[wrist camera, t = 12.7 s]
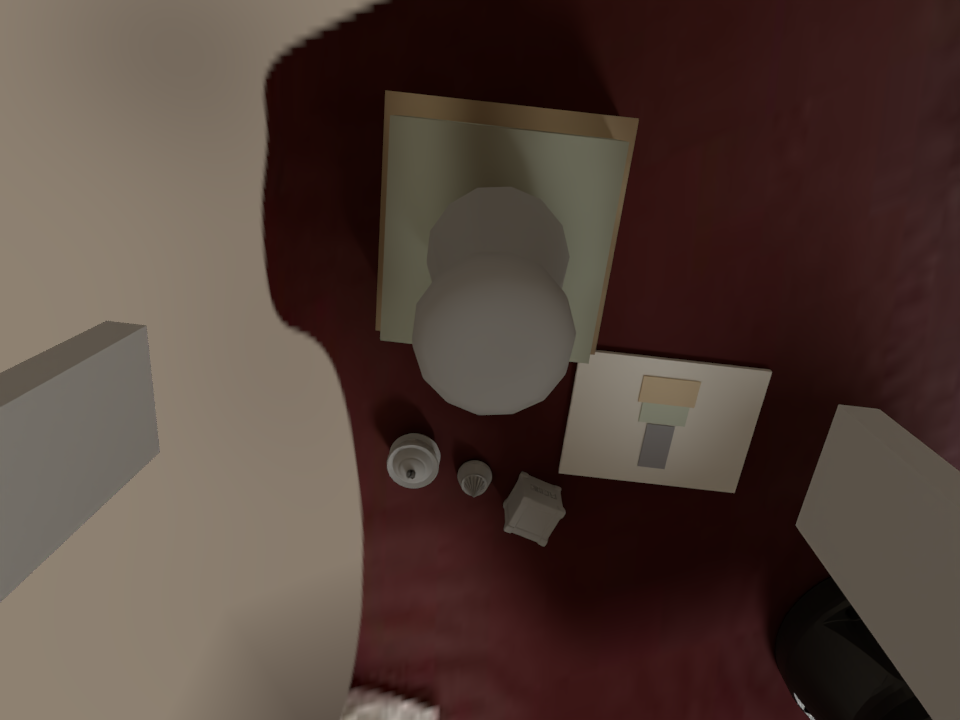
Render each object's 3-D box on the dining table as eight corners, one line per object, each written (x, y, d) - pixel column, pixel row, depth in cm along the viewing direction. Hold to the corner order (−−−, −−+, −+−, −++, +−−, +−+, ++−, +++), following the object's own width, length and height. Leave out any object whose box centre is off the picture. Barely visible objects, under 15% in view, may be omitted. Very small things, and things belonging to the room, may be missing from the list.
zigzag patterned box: (620, 118, 33) (658, 118, 25) (583, 325, 38) (605, 385, 29) (402, 94, 33) (366, 86, 25) (391, 303, 38) (358, 357, 29)
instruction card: (769, 369, 38) (772, 372, 38) (732, 489, 42) (735, 493, 41) (580, 348, 38) (580, 350, 38) (558, 470, 42) (558, 474, 41)
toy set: (561, 481, 42) (568, 514, 39) (539, 518, 44) (543, 552, 40) (403, 417, 41) (395, 445, 37) (384, 456, 42) (375, 487, 39)
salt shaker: (437, 311, 28) (385, 455, 16) (428, 184, 26) (359, 240, 14) (564, 307, 28) (607, 450, 16) (564, 177, 26) (613, 229, 14)
